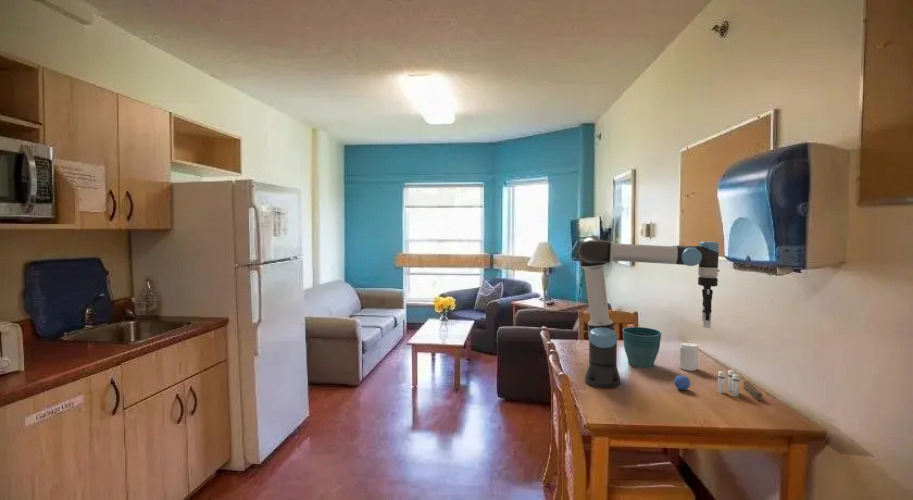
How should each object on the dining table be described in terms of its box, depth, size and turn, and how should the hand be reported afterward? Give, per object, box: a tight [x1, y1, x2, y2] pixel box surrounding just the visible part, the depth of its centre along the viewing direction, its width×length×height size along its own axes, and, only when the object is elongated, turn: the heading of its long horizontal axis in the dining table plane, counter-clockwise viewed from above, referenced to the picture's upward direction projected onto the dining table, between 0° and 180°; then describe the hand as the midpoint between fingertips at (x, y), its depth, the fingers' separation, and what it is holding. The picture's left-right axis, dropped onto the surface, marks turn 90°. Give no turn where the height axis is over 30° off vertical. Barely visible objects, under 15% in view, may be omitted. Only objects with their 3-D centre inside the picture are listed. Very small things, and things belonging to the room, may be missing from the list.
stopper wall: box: [742, 380, 763, 402], centre depth 183 cm, size 2×14×3 cm, turn 166°
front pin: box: [717, 370, 726, 394], centre depth 185 cm, size 2×2×8 cm
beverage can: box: [678, 341, 699, 372], centre depth 215 cm, size 8×8×12 cm
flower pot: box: [622, 326, 663, 369], centre depth 222 cm, size 18×18×17 cm
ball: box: [673, 374, 691, 391], centre depth 189 cm, size 6×6×6 cm
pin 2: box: [731, 373, 740, 398], centre depth 182 cm, size 2×2×8 cm
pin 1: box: [727, 369, 736, 393], centre depth 187 cm, size 2×2×8 cm
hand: (706, 324), depth 197 cm, fingers open, 13 cm apart
